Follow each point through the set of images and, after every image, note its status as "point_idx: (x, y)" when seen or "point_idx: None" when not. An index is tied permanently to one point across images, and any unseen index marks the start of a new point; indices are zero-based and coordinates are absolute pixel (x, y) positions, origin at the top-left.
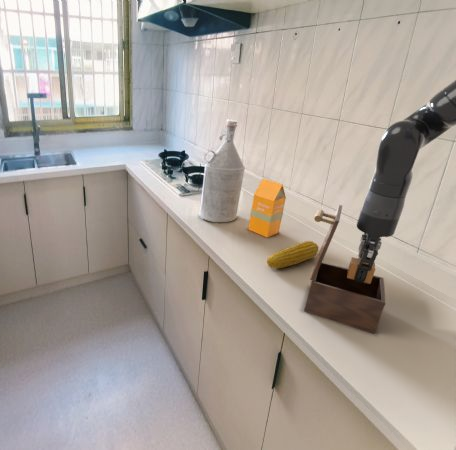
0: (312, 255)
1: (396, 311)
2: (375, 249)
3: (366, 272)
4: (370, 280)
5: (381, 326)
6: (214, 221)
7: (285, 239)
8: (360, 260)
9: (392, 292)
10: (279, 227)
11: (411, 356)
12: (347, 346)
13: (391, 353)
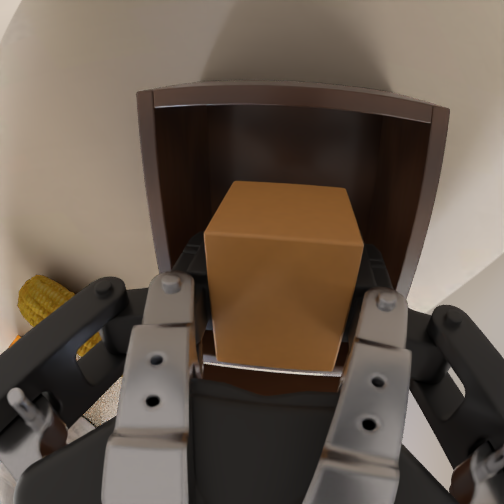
0: (57, 291)
1: (187, 10)
2: (434, 487)
3: (371, 276)
4: (347, 202)
5: (330, 59)
6: (93, 426)
7: (27, 324)
8: (430, 414)
9: (70, 41)
10: (11, 345)
11: (447, 8)
12: (480, 183)
13: (463, 62)
